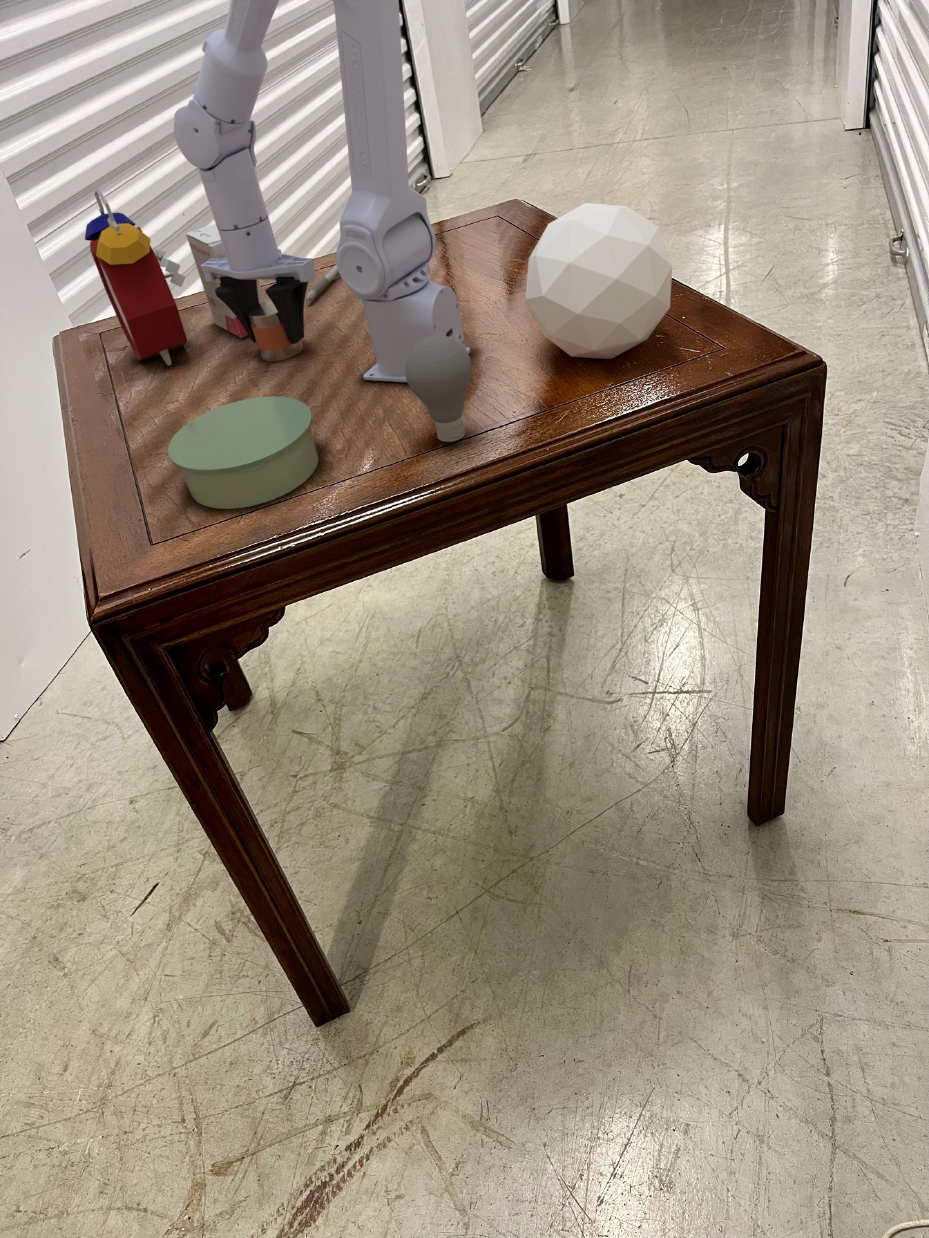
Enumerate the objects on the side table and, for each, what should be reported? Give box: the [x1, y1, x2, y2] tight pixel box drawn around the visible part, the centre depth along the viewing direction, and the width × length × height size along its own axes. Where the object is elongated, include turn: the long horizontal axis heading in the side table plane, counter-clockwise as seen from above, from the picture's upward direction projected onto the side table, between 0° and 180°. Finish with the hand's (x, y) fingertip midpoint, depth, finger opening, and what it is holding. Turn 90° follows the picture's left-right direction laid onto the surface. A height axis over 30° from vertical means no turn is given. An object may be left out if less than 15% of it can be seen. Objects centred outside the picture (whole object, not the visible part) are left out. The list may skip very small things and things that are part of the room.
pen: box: [305, 263, 341, 301], centre depth 128 cm, size 1×14×1 cm, turn 164°
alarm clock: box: [84, 187, 188, 367], centre depth 113 cm, size 15×9×20 cm, turn 27°
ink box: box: [185, 223, 266, 339], centre depth 118 cm, size 9×5×12 cm, turn 35°
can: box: [248, 299, 303, 362], centre depth 111 cm, size 5×5×6 cm
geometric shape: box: [524, 202, 673, 360], centre depth 94 cm, size 14×15×15 cm
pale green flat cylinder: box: [167, 395, 319, 510], centre depth 89 cm, size 14×14×4 cm
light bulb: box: [405, 335, 473, 443], centre depth 86 cm, size 6×6×10 cm
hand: (278, 339), depth 112 cm, fingers closed on can, 5 cm apart
